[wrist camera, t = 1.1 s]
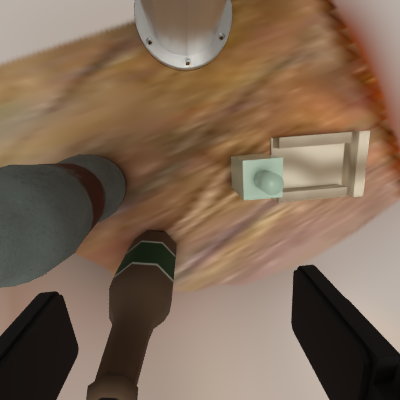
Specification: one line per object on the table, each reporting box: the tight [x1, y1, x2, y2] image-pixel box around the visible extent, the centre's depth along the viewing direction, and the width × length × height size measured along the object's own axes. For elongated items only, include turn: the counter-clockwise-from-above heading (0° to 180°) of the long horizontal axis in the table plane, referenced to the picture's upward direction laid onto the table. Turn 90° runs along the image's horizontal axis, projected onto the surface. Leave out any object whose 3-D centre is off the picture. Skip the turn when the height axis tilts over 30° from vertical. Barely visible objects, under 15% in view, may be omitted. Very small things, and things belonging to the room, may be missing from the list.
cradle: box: [271, 131, 370, 202], centre depth 35 cm, size 10×13×3 cm
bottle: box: [231, 154, 284, 200], centre depth 31 cm, size 5×5×12 cm
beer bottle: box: [86, 231, 176, 400], centre depth 27 cm, size 8×8×24 cm
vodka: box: [0, 155, 126, 287], centre depth 21 cm, size 9×9×30 cm
